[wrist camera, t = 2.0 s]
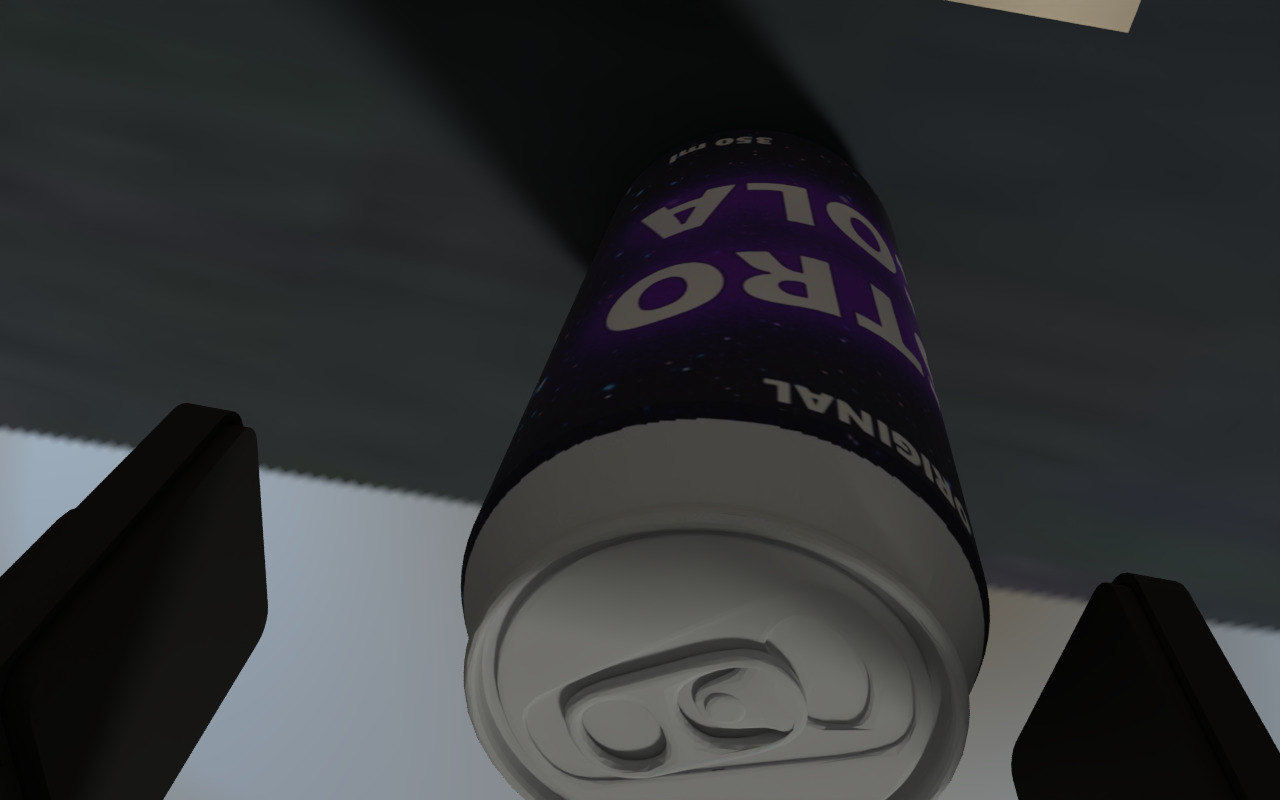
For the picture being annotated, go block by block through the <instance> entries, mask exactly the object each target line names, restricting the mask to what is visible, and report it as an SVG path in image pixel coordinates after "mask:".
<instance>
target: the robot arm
mask: <svg viewBox="0 0 1280 800" xmlns="http://www.w3.org/2000/svg"><path fill="white" fill-rule="evenodd" d="M261 510H262V509H261V495H260V479H259V464H258V449H257V438H256V434H255V432H254V430H253V429H251V428H248V427H243V424H242V420H241V418H240V416H239V414H237V413H236V412H234V411H228V410H223V409H217V408H212V407H206V406H201V405H195V404H189V403H183V404H180V405H178V406H177V407H176V408H174V409H173V410H172V411H171V412H170V413H169V414H168V415H167V416H166V417H165V418H164V419H163V420H162V422H161V423H160V424H159V425H158V426H157V427H156V428H155V429H154V430H153V431H152V432H151V433H150V434H149V435H148V436H147V437H146V438H145V439H144V440H143V441H142V442H141V443H140V444H139V445H138V446H137V447H136V448H135V449H134V450H133V451H132V452H131V453H130V454H129V455H128V456H127V457H126V458H125V459H124V460H123V461H122V462H121V463H120V464H119V465H118V466H117V467H116V468H115V469H114V470H113V471H112V472H111V473H110V474H109V475H108V476H107V477H106V478H105V479H104V480H103V481H102V482H101V483H100V484H99V485H98V486H97V487H96V488H95V489H94V490H93V491H92V492H91V493H90V494H89V496H87V497H86V498H85V499H84V500H83V501H82V502H81V503H80V504H79V505H78V506H77V507H76V508H75V509H71V510H69V511H68V512H67V513H65V514H64V515H63V516H62V517H60V518H59V519H58V520H57V521H56V522H55V523H54V524H53V525H52V526H51V527H50V528H49V529H48V530H47V531H46V532H45V533H44V534H43V535H42V536H41V537H40V538H39V539H38V540H37V541H36V542H35V543H34V544H33V545H32V546H31V547H30V548H29V549H28V550H27V551H26V552H25V553H24V554H23V555H22V556H21V557H20V558H19V559H18V560H17V561H16V562H15V563H14V564H13V565H12V566H11V567H10V568H9V569H8V570H7V571H6V572H5V573H4V574H3V575H2V576H1V577H0V800H163V799H164V797H165V796H166V794H167V792H168V791H169V789H170V787H171V786H172V784H173V783H174V781H175V779H176V778H177V776H178V774H179V773H180V771H181V769H182V768H183V766H184V764H185V763H186V761H187V759H188V758H189V756H190V754H191V753H192V751H193V749H194V748H195V746H196V744H197V743H198V741H199V739H200V738H201V736H202V734H203V733H204V731H205V729H206V728H207V726H208V725H209V723H210V721H211V720H212V717H213V716H214V715H215V713H216V711H217V710H218V708H219V706H220V705H221V703H222V701H223V700H224V698H225V696H226V695H227V693H228V691H229V690H230V688H231V687H232V685H233V683H234V681H235V680H236V678H237V677H238V675H239V673H240V672H241V670H242V668H243V667H244V665H245V663H246V662H247V660H248V658H249V657H250V655H251V653H252V652H253V650H254V648H255V647H256V645H257V643H258V642H259V640H260V638H261V636H262V633H263V631H264V628H265V624H266V620H267V614H268V600H267V585H266V570H265V555H264V540H263V526H262V511H261ZM1011 768H1012V777H1013V782H1014V785H1015V789H1016V793H1017V796H1018V799H1019V800H1280V752H1279V750H1278V749H1277V747H1276V745H1275V744H1274V742H1273V740H1272V738H1271V736H1270V735H1269V733H1268V731H1267V729H1266V728H1265V726H1264V724H1263V722H1262V721H1261V719H1260V717H1259V715H1258V713H1257V712H1256V710H1255V708H1254V706H1253V705H1252V703H1251V701H1250V699H1249V698H1248V696H1247V694H1246V692H1245V691H1244V689H1243V687H1242V685H1241V684H1240V682H1239V680H1238V679H1237V676H1236V675H1235V673H1234V671H1233V670H1232V668H1231V666H1230V664H1229V662H1228V661H1227V659H1226V657H1225V656H1224V654H1223V652H1222V650H1221V648H1220V647H1219V645H1218V643H1217V641H1216V640H1215V638H1214V636H1213V634H1212V633H1211V631H1210V629H1209V627H1208V625H1207V624H1206V622H1205V620H1204V618H1203V617H1202V615H1201V613H1200V611H1199V610H1198V608H1197V606H1196V604H1195V603H1194V601H1193V599H1192V597H1191V596H1190V594H1189V592H1188V591H1187V589H1186V588H1185V587H1184V586H1183V585H1182V584H1180V583H1178V582H1176V581H1171V580H1165V579H1160V578H1154V577H1149V576H1143V575H1138V574H1132V573H1122V574H1120V575H1119V576H1117V577H1116V578H1115V579H1114V581H1113V582H1112V583H1107V582H1106V583H1101V584H1100V585H1099V586H1098V587H1097V588H1096V590H1095V591H1094V593H1093V595H1092V597H1091V598H1090V600H1089V602H1088V604H1087V606H1086V608H1085V610H1084V612H1083V614H1082V616H1081V618H1080V620H1079V622H1078V624H1077V625H1076V627H1075V630H1074V631H1073V633H1072V635H1071V637H1070V639H1069V641H1068V643H1067V645H1066V647H1065V649H1064V650H1063V652H1062V655H1061V656H1060V658H1059V660H1058V662H1057V664H1056V666H1055V668H1054V670H1053V672H1052V674H1051V676H1050V678H1049V679H1048V681H1047V683H1046V685H1045V687H1044V689H1043V691H1042V693H1041V695H1040V697H1039V699H1038V701H1037V703H1036V705H1035V707H1034V708H1033V710H1032V712H1031V714H1030V716H1029V718H1028V720H1027V722H1026V724H1025V726H1024V728H1023V730H1022V731H1021V733H1020V735H1019V737H1018V739H1017V741H1016V743H1015V746H1014V749H1013V754H1012V762H1011Z"/></svg>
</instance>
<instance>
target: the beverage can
mask: <svg viewBox="0 0 1280 800" xmlns="http://www.w3.org/2000/svg"><path fill="white" fill-rule="evenodd" d="M461 597H462V606H463V613H464V619H465V625H466V629H467V633H468V636H469V640H468V644H467V648H466V655H465V661H464V689H465V695H466V702H467V708H468V713H469V716H470V719H471V722H472V724H473V727H474V730H475V732H476V735H477V738H478V740H479V741H480V743H481V745H482V746H483V748H484V750H485V752H486V753H487V755H488V756H489V758H490V760H491V762H492V763H493V765H494V766H495V767H496V768H497V770H498V771H499V772H500V773H501V775H502V776H503V777H504V778H505V779H506V780H507V782H508V783H509V784H510V785H511V787H512V788H513V789H514V790H515V791H516V792H517V793H519V794H520V795H521V796H522V797H523V798H524V799H525V800H937V799H938V797H939V796H940V795H941V793H942V792H943V791H944V789H945V788H946V786H947V785H948V784H949V782H950V781H951V779H952V777H953V775H954V773H955V770H956V768H957V766H958V764H959V762H960V759H961V757H962V755H963V751H964V747H965V742H966V738H967V732H968V727H969V716H970V711H969V710H970V709H969V694H970V692H971V690H972V688H973V685H974V683H975V681H976V678H977V676H978V673H979V671H980V668H981V665H982V662H983V659H984V655H985V651H986V646H987V642H988V635H989V623H990V611H989V598H988V590H987V585H986V581H985V577H984V572H983V569H982V565H981V561H980V557H979V553H978V550H977V546H976V542H975V538H974V535H973V531H972V527H971V523H970V520H969V516H968V512H967V508H966V504H965V501H964V497H963V493H962V489H961V486H960V482H959V478H958V474H957V471H956V467H955V463H954V459H953V455H952V452H951V448H950V444H949V440H948V437H947V433H946V429H945V425H944V422H943V418H942V414H941V410H940V407H939V403H938V399H937V395H936V391H935V388H934V384H933V380H932V376H931V373H930V369H929V365H928V361H927V358H926V354H925V350H924V346H923V342H922V339H921V335H920V331H919V327H918V324H917V320H916V316H915V312H914V309H913V305H912V301H911V297H910V293H909V290H908V286H907V282H906V278H905V275H904V271H903V267H902V263H901V260H900V256H899V252H898V248H897V244H896V241H895V237H894V233H893V230H892V227H891V224H890V221H889V218H888V216H887V213H886V211H885V209H884V207H883V205H882V203H881V202H880V200H879V198H878V197H877V195H876V194H875V192H874V190H873V189H872V188H871V187H870V185H869V184H868V183H867V181H866V180H865V179H864V178H863V177H862V176H861V175H860V174H859V173H858V172H857V171H856V170H855V169H854V168H853V167H852V166H851V165H850V164H848V163H847V162H846V161H844V160H843V159H842V158H841V157H839V156H838V155H836V154H835V153H833V152H831V151H830V150H828V149H826V148H824V147H823V146H821V145H819V144H817V143H814V142H812V141H810V140H807V139H805V138H802V137H799V136H796V135H792V134H788V133H784V132H778V131H772V130H763V129H738V130H729V131H722V132H717V133H713V134H709V135H705V136H702V137H699V138H696V139H694V140H691V141H689V142H686V143H684V144H682V145H680V146H678V147H676V148H674V149H673V150H671V151H669V152H668V153H666V154H664V155H663V156H662V157H660V158H659V159H657V160H656V161H655V162H654V163H652V164H651V165H650V166H649V167H648V168H646V169H645V170H644V171H643V172H642V173H641V174H640V175H639V176H638V177H637V179H636V180H635V181H634V182H633V183H632V185H631V186H630V187H629V189H628V190H627V191H626V193H625V194H624V196H623V197H622V199H621V201H620V202H619V204H618V206H617V208H616V210H615V212H614V214H613V216H612V219H611V221H610V223H609V225H608V228H607V230H606V232H605V234H604V236H603V239H602V241H601V243H600V245H599V248H598V250H597V252H596V254H595V256H594V259H593V261H592V263H591V265H590V268H589V270H588V272H587V274H586V276H585V279H584V281H583V283H582V285H581V288H580V290H579V292H578V294H577V296H576V299H575V301H574V303H573V305H572V308H571V310H570V312H569V314H568V316H567V319H566V321H565V323H564V325H563V328H562V330H561V332H560V334H559V337H558V339H557V341H556V343H555V345H554V348H553V350H552V352H551V354H550V357H549V359H548V361H547V363H546V365H545V368H544V370H543V372H542V374H541V377H540V379H539V381H538V383H537V385H536V388H535V390H534V392H533V394H532V397H531V399H530V401H529V403H528V405H527V408H526V410H525V412H524V414H523V417H522V419H521V421H520V423H519V425H518V428H517V430H516V432H515V434H514V437H513V439H512V441H511V443H510V446H509V448H508V450H507V452H506V454H505V457H504V459H503V461H502V463H501V466H500V468H499V470H498V472H497V474H496V477H495V479H494V481H493V483H492V486H491V488H490V490H489V492H488V494H487V497H486V499H485V501H484V503H483V506H482V508H481V510H480V512H479V514H478V517H477V519H476V521H475V523H474V526H473V528H472V531H471V534H470V536H469V539H468V542H467V546H466V550H465V554H464V560H463V565H462V575H461Z"/></svg>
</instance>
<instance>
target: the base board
mask: <svg viewBox="0 0 1280 800" xmlns="http://www.w3.org/2000/svg"><path fill="white" fill-rule="evenodd" d="M948 1H954V2H959V3H965V4H971V5H976V6H982V7H987V8H993V9H998V10H1004V11H1010V12H1015V13H1021V14H1026V15H1032V16H1038V17H1043V18H1049V19H1054V20H1060V21H1065V22H1071V23H1077V24H1082V25H1088V26H1093V27H1099V28H1105V29H1110V30H1116V31H1121V32H1127V33H1128V32H1129V29H1130V27H1131V24H1132V21H1133V19H1134V16H1135V14H1136V11H1137V9H1138V6H1139V3H1140V1H1141V0H948Z"/></svg>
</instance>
